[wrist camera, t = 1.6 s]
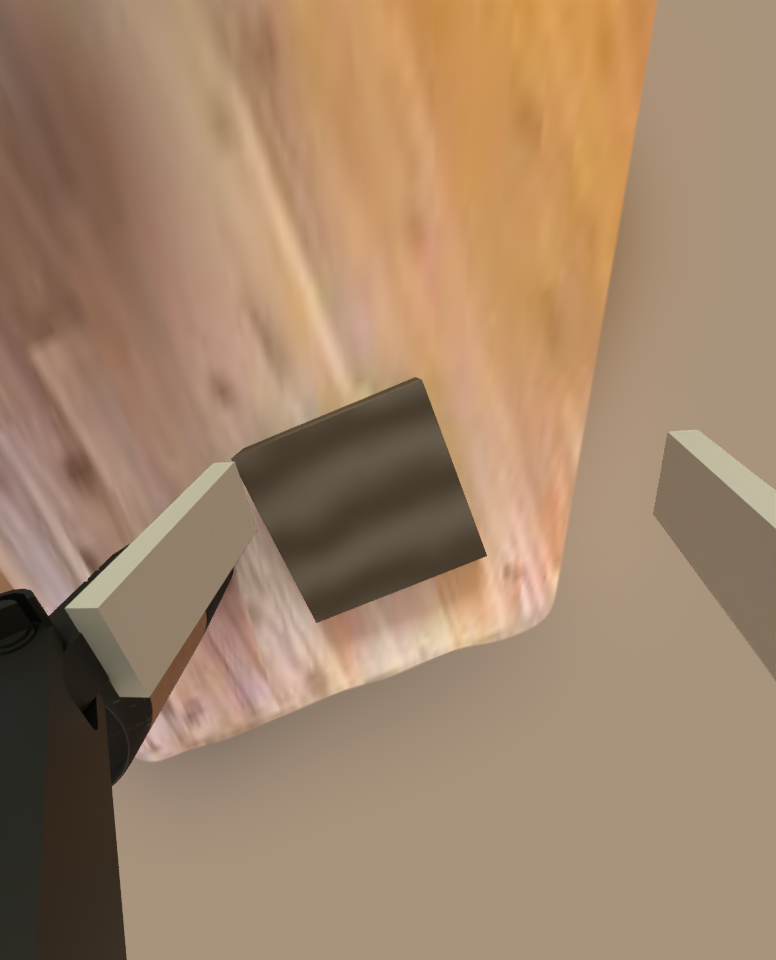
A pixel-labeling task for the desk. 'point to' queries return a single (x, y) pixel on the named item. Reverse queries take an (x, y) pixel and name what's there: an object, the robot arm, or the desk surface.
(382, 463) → the stand
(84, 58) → the desk surface
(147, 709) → the travel mug
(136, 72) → the desk surface
